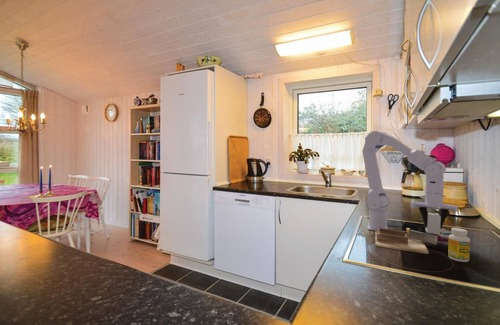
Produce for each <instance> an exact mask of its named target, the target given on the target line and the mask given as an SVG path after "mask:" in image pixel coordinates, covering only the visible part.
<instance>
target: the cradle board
mask: <svg viewBox="0 0 500 325" xmlns="http://www.w3.org/2000/svg"><path fill="white" fill-rule="evenodd" d="M374 239H375V244H374V245H375V247H381V248H385V249H387V248H388V249H392V250H398V251H399V250H400V251H407V252H410V253H411V252H413V253H418V254H426V255H429V250H428V248H427V246H426V245H425V242H423V241H419V240H415V239H412V238H408V237H406V231H405V230H397V229H392V228H391V229H390V228H387V229H383V228H377V231H375V230H374Z"/></svg>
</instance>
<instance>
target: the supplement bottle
mask: <svg viewBox="0 0 500 325" xmlns="http://www.w3.org/2000/svg"><path fill="white" fill-rule="evenodd" d="M450 230H451V234H449V235H448V244H447V245H448V247H447V248H448V250H447V251H448V253H447V254H448V258H449V259H450V260H452V261H453V260H454V261H456V262H460V263H468V262H469V261H470V256H471V253H470V252H471V239H470V237H469V236H468V233H469V232H468V229H465V228H464V229H463V228H460V227H459V228H458V227H451V229H450Z"/></svg>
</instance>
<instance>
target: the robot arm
mask: <svg viewBox="0 0 500 325" xmlns="http://www.w3.org/2000/svg"><path fill="white" fill-rule="evenodd" d="M384 146H389V147H390V148H391V147H392V149H394V150H396V151H398V152H400V153H401V154H403V155H404V156H406V157H407V161H408V162H409V163H411V164H413V165H414V166H416V167H417V168H418V169H420V170H421V171H423V173H424V174H425V188H424V202H423V201H422V202H421V201H411V203H410V207H411V208H418V210H419V213H420V214H421V218H422V221H423V227H424V228H425V227H427V215H428V213H429V211H428V209H430V210H438V214H439V215H440V216H441V223H440V230H442V229H443V225H444V223H445V221H446V219H447V218H448V216H449V215H450V211H453V212H458V208H459V207H458V205H453V204H445V203H444V188H445V187H444V185H445V181H444V180H445V177H444V174H445V173H446V171H447V170H446V169H447V168H446V166H445V164H444V163H442V161H437V159H436V158H435V157H431V156H430V155H427V154H426V151H424V149H423V150H419V149H412V148H410V147H409V146H408V145H406V143H403V142H402V141H400V140H399V139H398V138H396V137H394V136H393V135H392V134H388V133H387V132H383V131H378V130H372V131H370V132H369V133H368V134H367V135H366V136H365V137H364V145H363V148H362V158H363V161H364V162H363V163H364V166H365V172H366V177H367V182H368V187H369V190H368V191H367V200H366V204H367V206H368V210H369V211H368V213H369V214H368V223H367V230H371V231H374V232H375V231H377V228H383V229H388V223H387V222H388V206H389V205H390V202H391V201H390V197H388V195H387V193H386V192H387V191H386V190H385V189H384V188H383V184H382V178H381V174H380V169H379V164H378V159H377V153H378V151H379V150H380V149H381V148H383V147H384Z"/></svg>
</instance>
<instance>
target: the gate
mask: <svg viewBox="0 0 500 325" xmlns="http://www.w3.org/2000/svg"><path fill="white" fill-rule="evenodd" d="M405 235H406V237H408V238H412V239H415V240H419V241H422V242H423V243H428V244H432V245H435V246H437V245H438V235H436V234H432V233H427V232H421V231H417V230H414V229H413V230H412V229H411V228H408V227H406V231H405Z"/></svg>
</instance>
